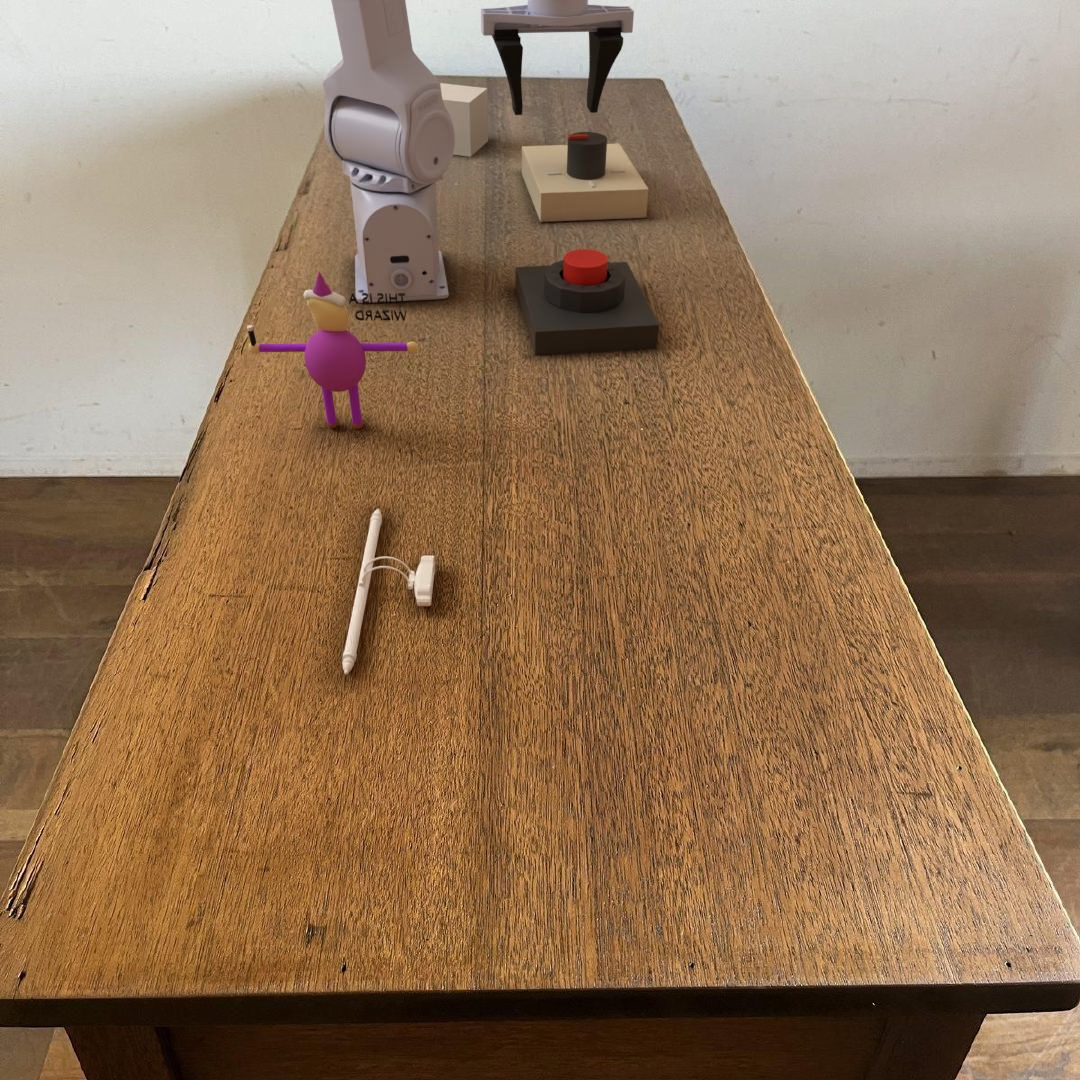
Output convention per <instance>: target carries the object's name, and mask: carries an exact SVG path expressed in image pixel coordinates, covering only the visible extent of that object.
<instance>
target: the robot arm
mask: <svg viewBox="0 0 1080 1080" xmlns="http://www.w3.org/2000/svg"><path fill="white" fill-rule="evenodd" d="M330 1H331V6H332V10H333V11H332V12H333V16H334V20H335V21H334V22H335V25H336V31H337V36H338V40H339V41H338V42H339V45H340V46H339V47H340V51H341V55H342V59H341V60H340V61H339V62H338V63H337V64H336V65H335V66H334V67H333V68H332V69H331V71H330V72H329V73H328V74H327V75H326V77H325V78H324V80H323V81H322V87H323V92H324V99H325V111H324V112H325V113H324V120H323V121H324V123H323V124H324V125H323V128H324V130H323V131H324V138H325V142H326V145H327V147H328V149H329V151H330V153H331V154H332V155H333V156H334V158H336V159H337V160H338V161H340V162H341V164H342V173H343V175H344V176H347V177H348V178H349V181H350V182H349V183H350V191H351V192H350V193H351V201H352V212H353V220H354V229H355V239H356V246H357V247H356V249H357V253H356V254H355V255H354V274H355V275H354V276H355V278H354V279H355V282H354V283H355V297H356V299H357V301H358V304H364V303H363V302H362V300H363V298H364V297H366V296H362V293H367V294H368V298H367V299H366V300H364V301H369V303H368V304H371V301H370V293H371V295H372V304H373V303H378V298H380V297H382V296H377V294H378V293H382V294H383V295H384V296H383V299H381V300H379V301H384V303H386V298H385V293H387V303H390V300H389V293H390V294H391V297H396V296H395V294H396V293H397V301H398V302H402V301H401V296H398V293H405V296H403V302H409V301H410V302H411V301H412V302H413V301H431V300H433V301H434V300H446V299H448V298H449V295H450V294H449V288H448V287H449V286H448V281H447V276H446V271H445V265H444V258H443V253H442V251H441V250H440V245H439V244H440V243H439V223H438V205H437V202H438V201H437V186H436V184H437V182H438V181H441V180H442V179H443V175H444V174H445V172H446V171H447V169H448V167H449V165H450V163H451V161H452V159H453V157H454V156H453V152H454V146H455V133H454V126H453V122H452V119H451V116H450V114H449V113H448V111H447V109H446V107H445V105H444V102H443V99H442V93H441V86H440V83H441V82H440V81H439V79H438V78H437V77H436V76H435V75H434V73H432V71H431V70H430V68H428V67H427V65H425V63H424V62H423V61H422V60H421V59H420V57H418V55H417V54H416V53H415V51H414V48H413V43H412V35H411V29H410V23H409V22H410V21H409V17H408V9H407V3H406V2H407V1H406V0H330ZM634 15H635V11H634V9H632V7H630V6H629V5H628V6H624V5H622V6H619V5H600V4H589V0H527V4H524V5H514V6H512V5H511V6H504V7H493V8H491V7H489V8H480V31H481V34H482V35H483V36H484V37H485V36H486V37H488V36H490V37H491V38H492V39H493V42H494V44H495V46H496V49H497V52H498V54H499V57H500V60H501V64H502V65H503V68H504V72H505V75H506V79H507V83H508V87H509V92H510V98H511V107H512V112H513V113H514V115H515V116H523V90H522V72H523V55H524V54H523V53H524V46H523V45H522V43H521V42H522V41H521V40H522V39H521V38H522V37H521V36H520V35H519V34H539V33H540V34H541V33H543V34H544V33H548V34H549V33H588V51H589V52H588V55H589V56H588V57H589V58H588V59H589V60H588V66H589V67H588V80H587V90H586V108H587V109H588V111H589V112H590V114H594V113H595V114H596V113H597V114H598V110H599V106H600V101H601V97H602V93H603V90H604V87H605V85H606V82H607V79H608V77H609V74H610V73H611V72H610V71H611V70H612V68H613V66H614V63H615V61H616V59H617V58H618V56H619V54H620V53H621V51H622V48H623V45H624V37H623V36H622V33H623V34H631V33H633V29H634V17H635V16H634ZM392 302H396V300H391V303H392Z"/></svg>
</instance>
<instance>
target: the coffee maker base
mask: <svg viewBox="0 0 1080 1080" xmlns="http://www.w3.org/2000/svg"><path fill="white" fill-rule="evenodd" d="M563 266H564V259H562V260H559V261H556V262H552V263H551V264H550V265H529V266H527V265H526V266H515V270H514V271H515V275H514V277H515V284H514V285H515V286H514V287H515V293H516V296H517V299H518V300H517V301H518V303H519V306H520V310H521V314H522V317H523V320H524V324H525V328H526V330H527V333H528V338H529V340H530V344H531V347H532V351H533V353H534V356H546V355H547V356H548V355H549V356H550V355H565V354H581V353H598V352H600V353H601V352H615V351H633V350H650V349H653V350H654V349H657V348H658V340H659V331H660V324H659V321H658V320H657V318H656V316H655V314H654V312H653V310H652V308H651V307H650V305H649V302H648V301H647V298H646V296H645V295H644V293H643V291H642V288H641V287H640V285H639V282H638V281H637V279H636V278H635V275H634V273H633V272H632V269H631V268H630V266H629V264H628V262H627V261H617V262H615V261H614V262H610V261H608V265H607V279H606V281H605V282H604V283H601V284H598V285H587V286H582V285H577V284H572V283H569V282H567V281H565V280H564V278H563Z"/></svg>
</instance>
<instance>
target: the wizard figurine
mask: <svg viewBox="0 0 1080 1080" xmlns="http://www.w3.org/2000/svg"><path fill="white" fill-rule="evenodd" d="M302 295H303V298H304V300H305V301H306V306H307V308H308V309H309V311H310V313H311V316H312V319H313V321H314V324H315V326H316V327H317V329H319V330H317V331H316V332H315V333H313V334H312V335H311V336H310V338H309V340H308V341H307V343H260V342H258V341H257V338H256V335H255V330H254V326H253V324H247V326H246V329H247V333H248V337H249V342H250V343H249V344H248V350H249V352H250V353H252V354H260V353H304V363H305V368H306V370H307V373H308V374H309V376H310V378H311V379H312V380H313V381H314V382H315V384H317V385H318V386H319V387H321V390H322V397H323V404H324V410H325V418H326V422H325V423H326V426H327V427H328V428H330V429H335V428H337V427H338V426H339V424H340V419H339V418H338V417H337V416H336V408H335V401H334V395H333V392H334V393H335V392H336V393H340V392H341V393H342V392H346V391H348V396H349V404H350V412H351V419H352V421H351V426H352V428H353V429H354V430H362V428H364V426H365V421H364V419H363V417H362V409H361V401H360V394H359V385H358V384H359V383H360V382H361V380H362V379H363V377H364V375H365V371H366V368H367V357H366V352H407V353H408V354H411V355H412V354H416V353H417V352H418V350H419V345H418V344H417V343H416V342H415V341H408V342H381V343H379V342H378V343H377V342H375V343H374V342H373V343H371V342H370V343H369V342H367V343H366V342H365V343H364V342H361V341H360V340H359V338H357V337H356V335H354V333H352V332H350V331H349V330H348V328H349V323H350V319H349V318H350V315H349V311H348V308H347V306H346V302H347V301H346V297H344V296H343V295H341V294H339V293H338V292H335V291H332V290H331V288H330V286H329V285H328V283H327V281H326V280H325V278H324V277H323V275H322V273H321V271H318V274H317V276H316V280H315V283H314V285H313V288H312V289H306V290H305V291H303V294H302ZM362 296H366V297H364V298H363V300H362V302H363V303H362V304H364V305H368V304H371V305H373V303H372V295H371V293H370V301H371V303H369V301H364V300H366V299H367V298H368V294H367V293H362ZM377 296H382V297H380V298H378V302H377V303H378V304H380V305H382V304H386V305H387V304H388V302H387V293H385V298H386V302H384V301H379V300H381V299H383V296H384V295H383V294H382V293H378V294H377ZM395 296H396V297H391V294H390V293H389V300H390V302H389V304H392V302H391V300H396V301H395V304H396V305H397V304H398V302H399V301H397V293H396V294H395ZM398 296H401V301H400V302H401V305H403V304H404V301H403V296H405V293H398ZM352 302H355V304H357V305H358V304H359V303H358V301H357V299H356V294H355V293H354V292H352V293H351V295H350V298H349V302H348V304H349V305H350V304H351V303H352ZM381 312H382V314H383V315H384V317H382V315H381V313H380V311H379V310H378V309H376V311H375V315H374V317H373V311H372V309H367V310H365V315H364V309H359V310H356V311H355V319H356V320H357V321H367V320H368V318H370V321H374V322H375V321H376V319H379V320H380V321H381V322H382V321H383V322H384V321H392V322H393V321H394V316H395V318H396V321H398V322H399V321H400V317H401V320H402V321H403V322H404V321H405V320H406V315H407V313H408V312H407V309H405V311H404V315H403V312H402V310H401V309H399V311H398V313H397V311H396V310H395V309H394V310H393V309H382V310H381ZM360 313H361V317H359V316H358V314H360ZM388 314H390V316H389V315H388ZM365 316H366V317H365Z"/></svg>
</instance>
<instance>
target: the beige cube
mask: <svg viewBox="0 0 1080 1080" xmlns="http://www.w3.org/2000/svg"><path fill="white" fill-rule="evenodd" d="M440 86H441V93H442V99H443V102H444V105H445V107H446V109H447V111H448V113H449V114H450V116H451V119H452V122H453V126H454V133H455V146H454V152H453V155H454V156H462V157H468V158H469V157H470V158H471V157H472V156H474V155H475V154H476V153H477V152H478V151H479V150H480V149H481V148H483V146H484V145H486V144H487V143H488V142H489V101H488V100H489V99H488V96H489V95H488V87H481V86H480V87H479V86H470V85H461V84H452V83H443V82H440Z"/></svg>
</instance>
